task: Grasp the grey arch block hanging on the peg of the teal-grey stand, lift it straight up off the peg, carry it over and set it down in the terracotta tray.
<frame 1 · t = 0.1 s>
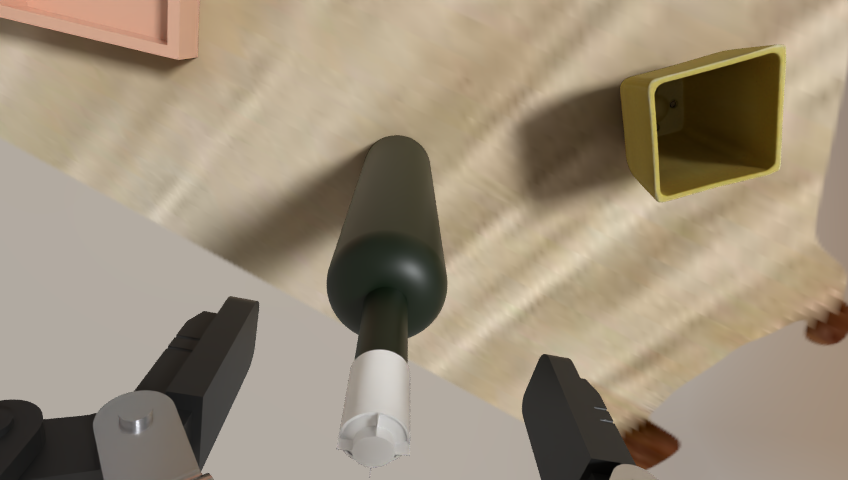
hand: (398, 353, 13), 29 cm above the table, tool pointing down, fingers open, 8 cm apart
wine bottle: (397, 167, 41), on the table
flower pot: (652, 107, 39), on the table
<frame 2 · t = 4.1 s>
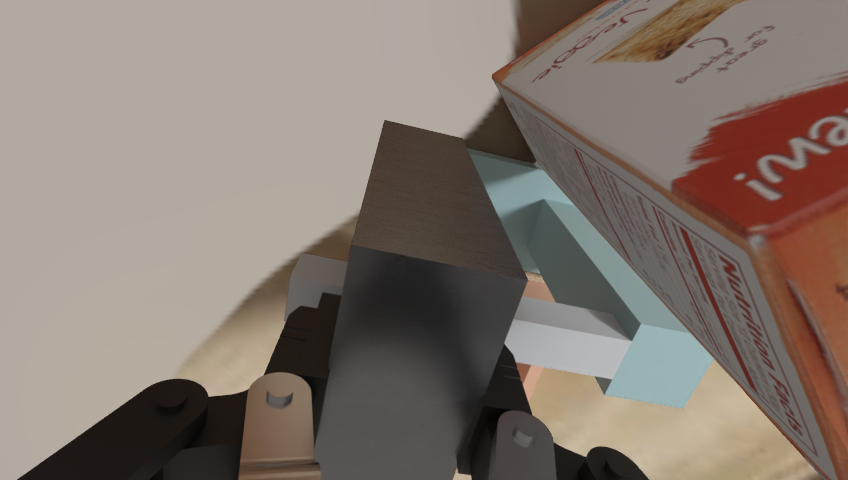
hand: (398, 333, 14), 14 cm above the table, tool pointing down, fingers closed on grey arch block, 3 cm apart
grey arch block: (403, 213, 23), point 4 cm above the table, touching gripper, peg stand
tray: (427, 353, 31), on the table
peg stand: (554, 220, 27), on the table
cracker box: (629, 43, 24), on the table
when the fingers open (12 cm above the table, at t = 10.0 s): grey arch block drops 1 cm, resting on tray.
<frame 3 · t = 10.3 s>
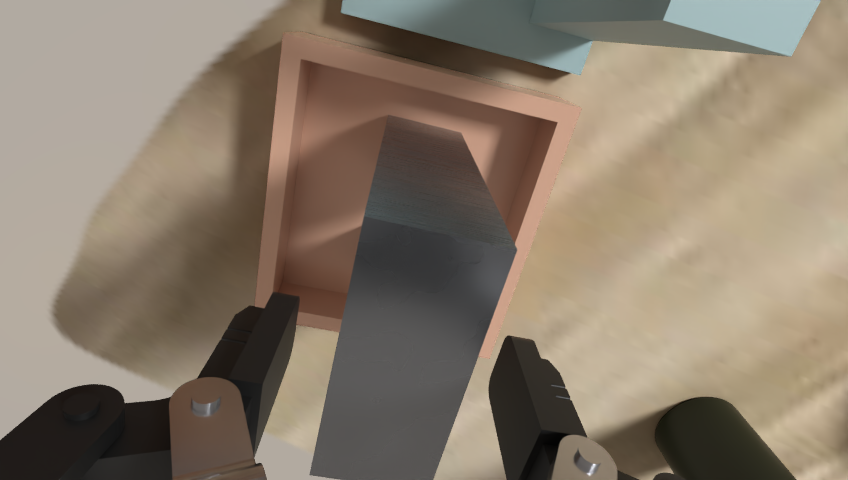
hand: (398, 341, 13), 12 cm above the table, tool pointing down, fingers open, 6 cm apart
grey arch block: (405, 203, 24), point 1 cm above the table, touching tray
wine bottle: (694, 425, 33), on the table
tray: (403, 198, 25), on the table
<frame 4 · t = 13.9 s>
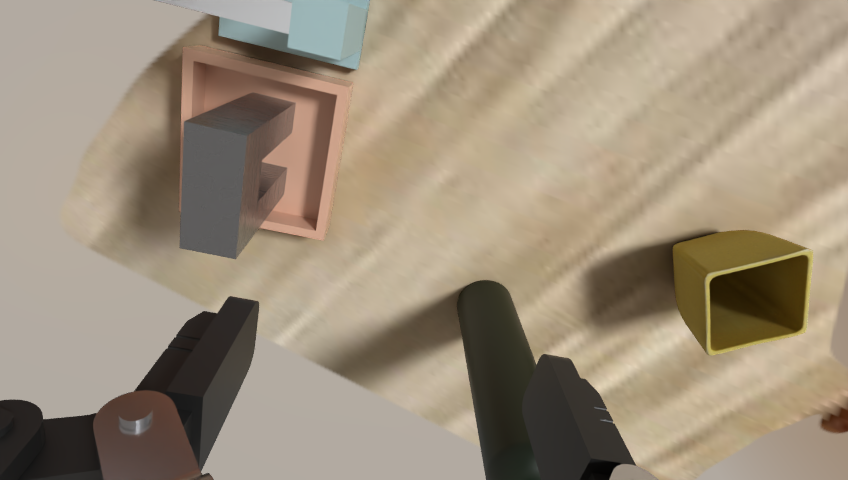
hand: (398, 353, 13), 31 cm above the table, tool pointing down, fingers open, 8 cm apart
grey arch block: (269, 145, 41), point 1 cm above the table, touching tray
wine bottle: (483, 302, 49), on the table
tray: (270, 143, 41), on the table
peg stand: (346, 25, 38), on the table
flower pot: (697, 257, 48), on the table
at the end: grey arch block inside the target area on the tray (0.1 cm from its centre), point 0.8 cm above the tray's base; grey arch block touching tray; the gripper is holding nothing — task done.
